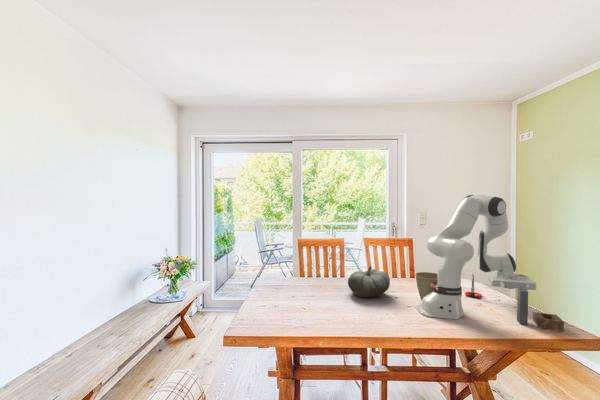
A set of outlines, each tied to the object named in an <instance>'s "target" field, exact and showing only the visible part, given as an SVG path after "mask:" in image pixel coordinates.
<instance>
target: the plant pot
mask: <svg viewBox="0 0 600 400" xmlns="http://www.w3.org/2000/svg"><path fill="white" fill-rule="evenodd" d="M415 279H416V286H417V291H418V294H419V298H420V300H421V302H422V299H423V297H425V296H426V295H428V294H429V293H431V292H432V291H434V288H432V287H431V286H430V284H434V285H436V284H437V273H435V272H429V271H428V272H427V271H422V272H421V271H420V272H416V273H415Z"/></svg>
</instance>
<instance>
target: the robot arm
mask: <svg viewBox="0 0 600 400" xmlns="http://www.w3.org/2000/svg"><path fill="white" fill-rule="evenodd" d="M506 210H507V203H506V201H505V200H504V199H503V198H502V197H498V196H492V195H491V196H490V195H485V194H469V195H466V196H465V197H463V199H462V200H461V202H460V203H459V204H458V206H457V207H456V209H455V211H454V212H453V215H452V217H451V218H450V219H449V222H448V224H447V225H446V226H445V227H444V228H443V229H442V230H441V231H440V232H439V233H438V234H436V235H433V236H431V237H430V238H429V239H428V241H427V245H426V246H427V250H428V252H429V253H431V254H433V255H435V256H436V257H440V258H442V259H444V263H443V265H442V266H440V267H438V268H437V270H436V272H437V273H436V274H437V284H436V285H434V284H430V286H431V287H432V288H434V291H432V292H431V293H429V294H428V295H426V296H425V297H423V299H422V301H421V304H418V305H417V306H416V310H417V312H419V313H420V315H423V316H424V317H429V318H437V319H449V320H459V319H460V318H461V317H463V316H464V315H465V313H464V308H463V304H462V294H463V291H462V290H463V289H462V272H463V269H464V266H465V265H466V264H467V263H468V262H469V261H471V260H472V259H473V257H474V254H475V249H474V246H473V244H471V243H470V242H468V241H467V240H466V241H465V240H463V238H464V237H467V236H469V235H470V234H471V233H472V230H473V229H474V227H475V225H476V223H477V221H478V219H479V216H483V220H484V227H483V228H482V230H480V231H479V235H478V249H477V251H478V252H477V254H478V255H477V258H476V259H477V260H476V261H477V262H476V264H477V267H478V269H479V270H480V271H482V272H484V273H491V272H495V276H491V277H490V278H488V281H489V282H490V285H491V287H498V288H503V289H509V290H514V289H517V288H523V289H526V290H527V291H529V290H531V291H535V290H537V282H536V281H534V279H531V278H530V277H529V276H527V275H523V274H519V273H515V272H516V270H517V264H516V261H515V259H514V257H513V256H512V255H511V254H510V253H508V252H500V253H499V252H498V253H494V254H493V253H492V254H488V244H489V243H490V242H491V241H493V240H495V239H498V238H499V237H502V236H503V235H504V234H506V233H507V232H508V229H509V221H508V216H507V212H506Z"/></svg>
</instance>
